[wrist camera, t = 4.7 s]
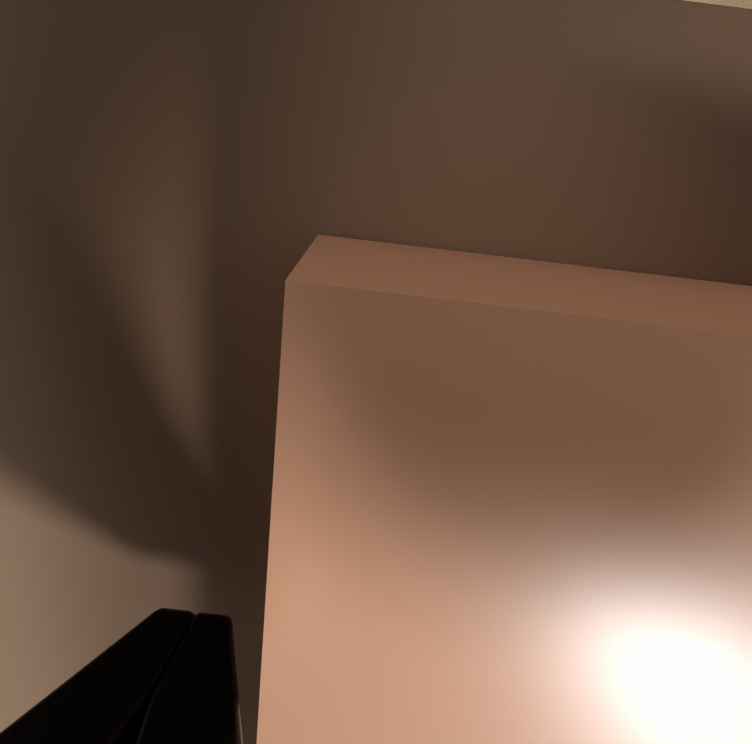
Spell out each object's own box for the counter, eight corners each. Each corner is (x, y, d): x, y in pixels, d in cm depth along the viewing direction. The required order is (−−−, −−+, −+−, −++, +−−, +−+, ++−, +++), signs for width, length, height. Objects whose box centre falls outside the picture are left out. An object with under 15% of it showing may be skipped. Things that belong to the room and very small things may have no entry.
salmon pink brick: (904, 304, 7) (1098, 376, 5) (665, 876, 10) (725, 1051, 8) (318, 234, 7) (285, 280, 5) (270, 832, 10) (240, 997, 8)
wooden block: (700, 62, 10) (887, 25, 6) (514, 752, 15) (550, 969, 11) (-121, -42, 10) (-459, -144, 6) (-22, 684, 15) (-169, 878, 11)
